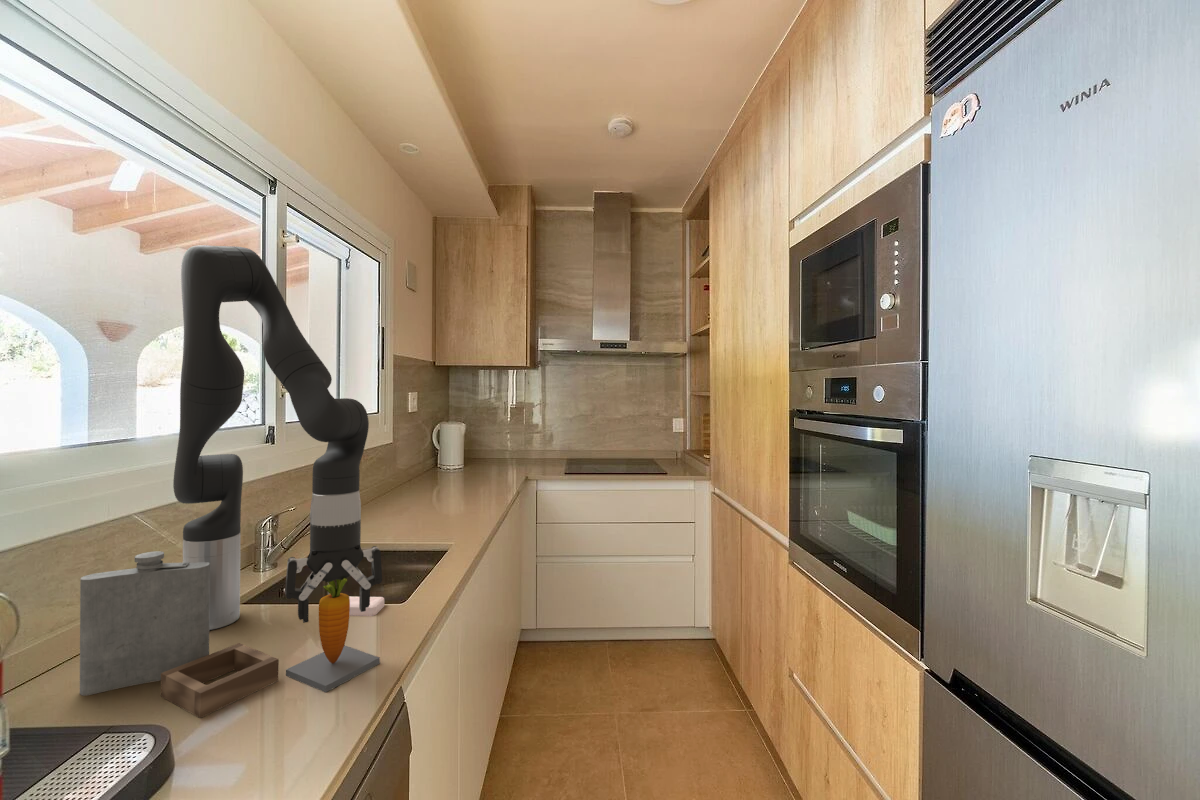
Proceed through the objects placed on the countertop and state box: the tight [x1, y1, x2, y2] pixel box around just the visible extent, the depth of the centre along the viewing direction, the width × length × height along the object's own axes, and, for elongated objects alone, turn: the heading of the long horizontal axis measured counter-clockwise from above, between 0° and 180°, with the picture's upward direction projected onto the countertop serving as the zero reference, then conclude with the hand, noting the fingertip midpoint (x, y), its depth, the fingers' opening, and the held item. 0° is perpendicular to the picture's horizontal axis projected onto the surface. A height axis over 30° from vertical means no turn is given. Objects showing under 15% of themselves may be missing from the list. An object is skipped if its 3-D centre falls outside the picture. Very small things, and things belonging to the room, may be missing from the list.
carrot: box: [318, 578, 350, 664], centre depth 87 cm, size 5×5×15 cm
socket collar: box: [160, 642, 279, 719], centre depth 81 cm, size 11×11×4 cm
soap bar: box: [348, 595, 385, 617], centre depth 111 cm, size 5×9×2 cm, turn 91°
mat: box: [285, 644, 381, 693], centre depth 88 cm, size 10×10×1 cm
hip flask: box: [79, 550, 210, 696], centre depth 84 cm, size 16×4×20 cm, turn 117°
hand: (334, 615), depth 88 cm, fingers open, 8 cm apart
